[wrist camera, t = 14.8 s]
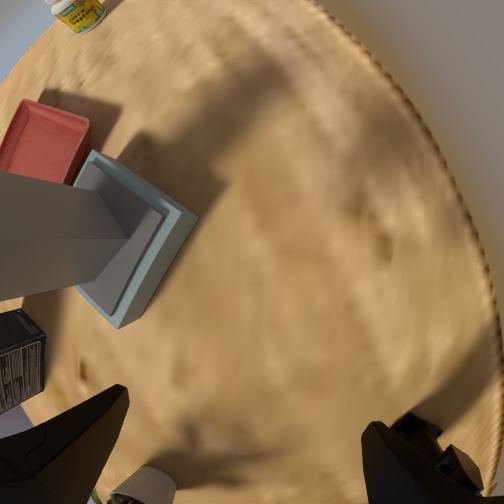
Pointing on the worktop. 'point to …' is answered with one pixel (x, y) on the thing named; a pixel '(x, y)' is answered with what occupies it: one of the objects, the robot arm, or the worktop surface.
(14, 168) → the plant saucer
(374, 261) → the worktop surface
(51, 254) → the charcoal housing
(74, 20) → the supplement bottle
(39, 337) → the small box
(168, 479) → the house plant
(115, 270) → the slate stand
